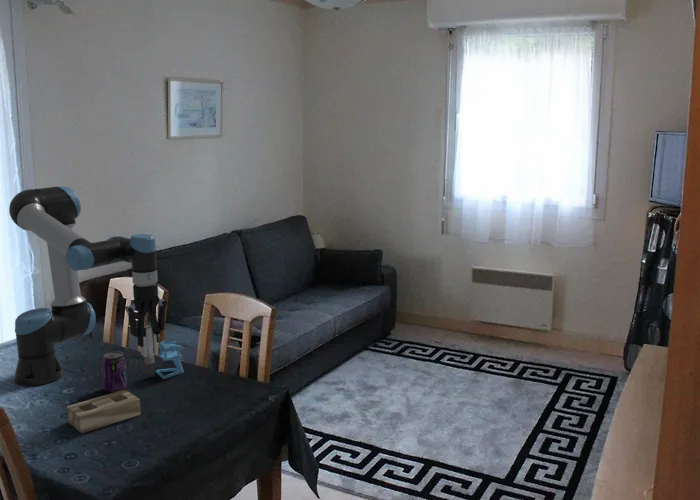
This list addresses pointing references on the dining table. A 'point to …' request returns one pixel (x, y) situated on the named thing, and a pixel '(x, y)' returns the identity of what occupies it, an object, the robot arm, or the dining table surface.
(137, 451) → the dining table surface
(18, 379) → the robot arm
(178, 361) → the chair
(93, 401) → the hole block
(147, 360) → the pin
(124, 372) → the beverage can
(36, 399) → the dining table surface
